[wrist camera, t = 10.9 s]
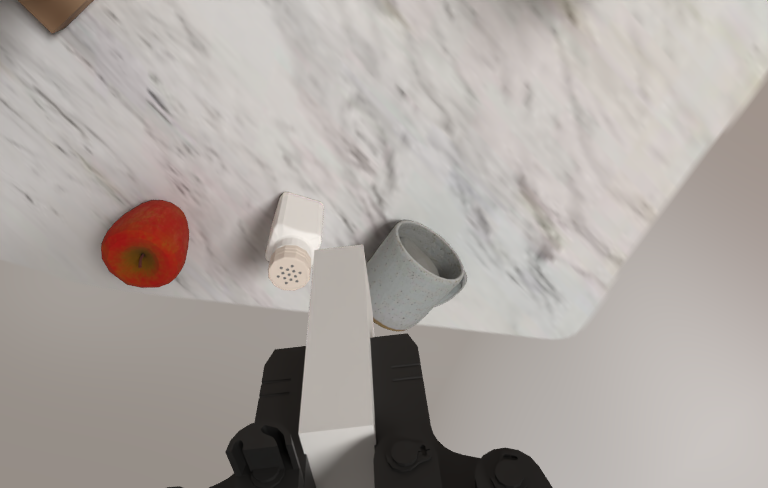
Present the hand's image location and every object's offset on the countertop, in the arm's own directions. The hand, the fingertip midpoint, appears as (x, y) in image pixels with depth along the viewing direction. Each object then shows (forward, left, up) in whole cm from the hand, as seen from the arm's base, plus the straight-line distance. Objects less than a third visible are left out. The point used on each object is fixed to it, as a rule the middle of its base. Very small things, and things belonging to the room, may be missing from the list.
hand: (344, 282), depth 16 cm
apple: (-18, -12, -29) cm, 36 cm away
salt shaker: (-6, -13, -29) cm, 32 cm away
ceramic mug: (+4, -20, -29) cm, 35 cm away
